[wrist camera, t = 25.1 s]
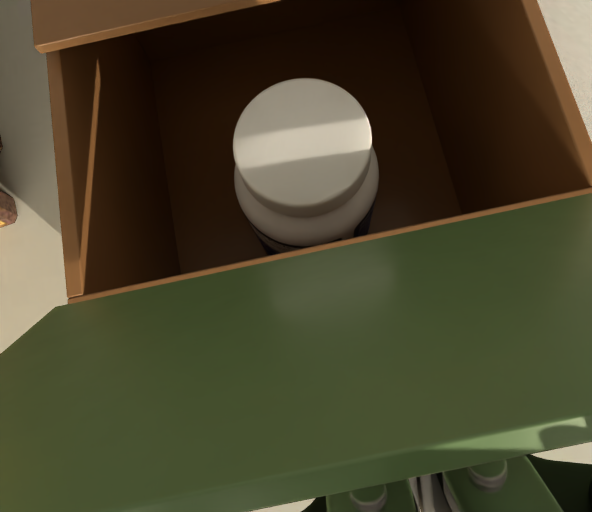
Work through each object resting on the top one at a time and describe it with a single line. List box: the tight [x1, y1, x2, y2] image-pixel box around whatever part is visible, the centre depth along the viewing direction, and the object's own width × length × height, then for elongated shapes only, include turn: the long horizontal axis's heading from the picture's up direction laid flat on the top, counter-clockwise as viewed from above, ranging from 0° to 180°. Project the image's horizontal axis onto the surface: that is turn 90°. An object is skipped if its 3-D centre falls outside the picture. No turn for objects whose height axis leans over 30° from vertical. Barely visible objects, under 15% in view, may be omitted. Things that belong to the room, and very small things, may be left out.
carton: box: [31, 0, 592, 304], centre depth 21 cm, size 16×17×12 cm
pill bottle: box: [233, 78, 379, 256], centre depth 21 cm, size 6×6×10 cm
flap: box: [0, 193, 592, 512], centre depth 9 cm, size 16×8×1 cm
